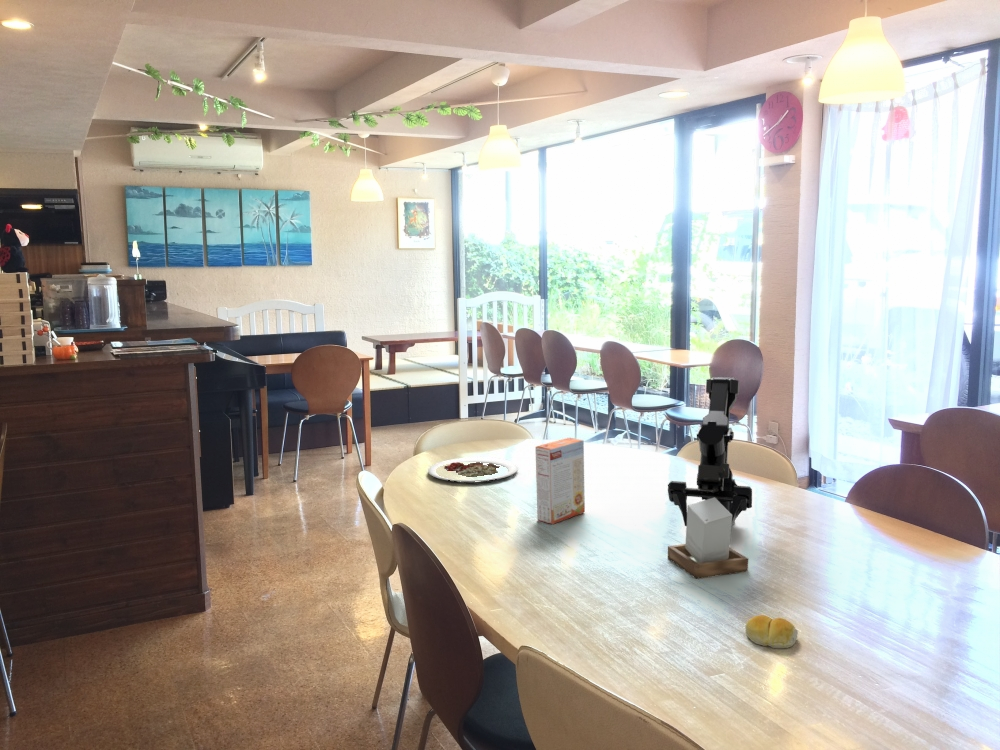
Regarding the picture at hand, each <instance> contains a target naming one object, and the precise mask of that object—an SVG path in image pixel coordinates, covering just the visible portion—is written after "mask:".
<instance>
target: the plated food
mask: <svg viewBox="0 0 1000 750" xmlns="http://www.w3.org/2000/svg"><path fill="white" fill-rule="evenodd" d="M460 462H476V463H470V464H468V465H464V464H463V463H460ZM480 462H481V463H480ZM450 463H451V464H450ZM483 463H489V464H487V465H488V466H487V465H483ZM446 464H450V465H447V466H444V469H446V470H447V471H456V473H458V475H462V476H466V477H477V476H484V475H492V474H495V473H498V471H497V470H496V468H499V467H500V466H496V465H501V466H503V467H506V468H507V469H508V473H507V474H505V475H503V476H500V477H497V478H492V479H486V480H454V479H448V478H444V477H441V476H439V475H438V474H437V473H436V469H437V468H438V467H440V466H443V465H446ZM494 464H496V465H494ZM518 470H519V467H518V465H517V464H516V463H515V462H513V461H510V460H507V459H501V458H496V457H494V458H493V457H481V456H480V457H478V456H477V457H460V458H451V459H447V460H443V461H442V460H441V461H439V462H437V463H434V464H432V465H430V466H429V468H428V471H427V473H428V474H429V475H430V476H432V477H434V478H437V479H439V480H444V481H448V480H450V481H449V482H454V481H461V482H460V483H464V482H474V483H476V482H475V481H487V482H489V481H488V480H493V481H496V480H495V479H497V480H500V479H503V478H504V479H505V478H507V477H510V476H512V475H514V474H516V473H517V472H518Z"/></svg>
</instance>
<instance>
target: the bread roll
mask: <svg viewBox="0 0 1000 750" xmlns="http://www.w3.org/2000/svg"><path fill="white" fill-rule="evenodd" d="M744 627H745V634H746V636H747V638H748V639H750V640H751V641H752V642H753V643H755V644H756V645H760V646H763V647H768V646H769V647H770V648H773V649H789V648H791V647H793V646H794V645H795V643H796V642H797V639H798V632H799V631H798V629H797V628H796V627H795V625H794V624H792V622H790V621H789V620H788V619H786V618H782V617H776V618H772V617H770V616H767V615H764V614H759V615H755V616H753V617H751V618H750V619H749V620H748V621H747V622H746V625H745V626H744Z"/></svg>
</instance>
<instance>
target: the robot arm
mask: <svg viewBox="0 0 1000 750" xmlns="http://www.w3.org/2000/svg"><path fill="white" fill-rule="evenodd" d="M705 383H706V384H705V385H706V386H705V393H706V394H708V399H709V408H708V414H706V415H705V416H704V417H702V423H701V426H700V425H699V426H698V428H697V429H698V430H697V433H696V441H698V445H699V446H698V447H699V452H700V460H699V461H700V462H699V464H698V466H697V474H696V486H697V488H694V487H687V482H686V481H678V480H676V481H674V480H670V482H668V484H667V485H668V487H667V493H668V494H667V495H668V500H669V502H670V503H673V505H674V506H678V508H679V510H680V512H681V515H682V519H683V523H684V526H685V527H687V509H688V503H687V500H688V497H690V498H694V497H695V498H701V500H702V501H704V500H707V499H711V498H714V497H715V498H716V499H717V500H718V501H719V502H720V503H721V504H722V505H723V506H724V507H725V508H726V509H727V510H728V511H729V512H730V513H731V514H732V525H731V528H732V527H733V526H734V524H735V522H736V519H737V518H738V517H739V515H740V514H741V513H742V512H746V511H747V509H751V508H753V489H752V488H751V486H746V485H738V484H737V482H736V479H735V478H734V476H733V475H734V474H733V472H732V470H731V467H730V464H729V463H728V458H729V457H728V456H729V455H728V453H729V443H732V441H733V440H734V437H735V432H734V431H733V429H732V427H730V416H731V415H730V413H731V410H732V408H733V407H734V406H735V404H736V403H737V395H740V380H737V379H736V378H735V377H733V376H731V377H729V376H728V377H727V376H726V377H725V376H712V377H711V378H708V379H706V382H705ZM733 478H734V479H733Z"/></svg>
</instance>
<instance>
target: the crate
mask: <svg viewBox="0 0 1000 750" xmlns="http://www.w3.org/2000/svg"><path fill="white" fill-rule="evenodd" d="M685 544H686V543H683V544H682V543H681V544H674V545H668V546H667V559H668V560H669V561H671V562H672V563H673V564H674V565H677V566H678V567H679V568H680V569H682V570H683V571H685V572H686V573H688V574H689V575H691V577H693V578H695V579H705V578H711V577H718V576H719V577H720V576H726V575H732V574H739V573H746V572H748V571H749V557H746V556H745V555H743V554H742V553H740V552H738V551H737V550H735V549H733V548H732V547H730V548H729V558H728V559H726V560H721V561H714V562H707V563H700V564H699V563H698V562H697V561H696V560H695V559H694V558H693V556H692V555H691V554H690V553H689V552H688V551H687V549H686V548H685Z"/></svg>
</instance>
